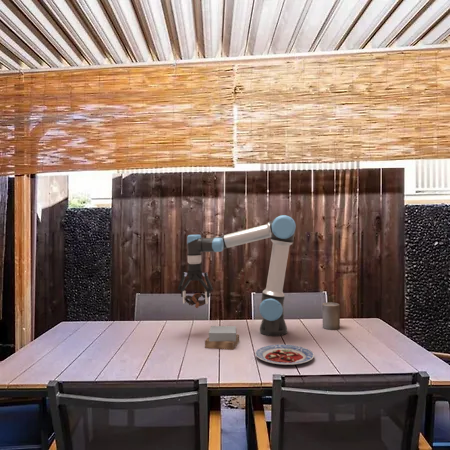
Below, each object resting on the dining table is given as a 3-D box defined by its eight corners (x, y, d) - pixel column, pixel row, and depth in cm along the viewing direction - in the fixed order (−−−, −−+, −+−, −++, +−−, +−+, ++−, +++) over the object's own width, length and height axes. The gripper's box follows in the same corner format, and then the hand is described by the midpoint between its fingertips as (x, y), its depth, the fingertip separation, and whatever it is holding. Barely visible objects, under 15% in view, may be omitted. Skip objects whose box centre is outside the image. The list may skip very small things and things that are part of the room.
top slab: (236, 333, 199) (236, 326, 199) (235, 341, 186) (235, 333, 186) (211, 333, 200) (210, 326, 200) (208, 341, 187) (208, 333, 187)
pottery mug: (205, 305, 215) (208, 293, 211) (203, 316, 206) (206, 304, 203) (184, 300, 214) (187, 288, 211) (181, 311, 206) (184, 298, 202)
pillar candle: (342, 327, 223) (341, 301, 223) (337, 331, 214) (336, 304, 215) (325, 324, 228) (325, 299, 228) (320, 328, 220) (319, 302, 220)
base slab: (239, 342, 198) (239, 334, 198) (233, 351, 184) (233, 342, 184) (212, 340, 201) (212, 332, 201) (205, 349, 188) (204, 340, 188)
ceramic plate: (301, 373, 154) (301, 366, 154) (245, 362, 168) (245, 355, 168) (321, 354, 176) (321, 348, 176) (270, 346, 190) (270, 340, 190)
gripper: (218, 262, 209) (219, 302, 209) (176, 262, 215) (177, 301, 215) (214, 263, 201) (215, 305, 201) (170, 263, 207) (171, 304, 207)
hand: (195, 303), depth 208 cm, fingers closed on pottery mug, 12 cm apart
